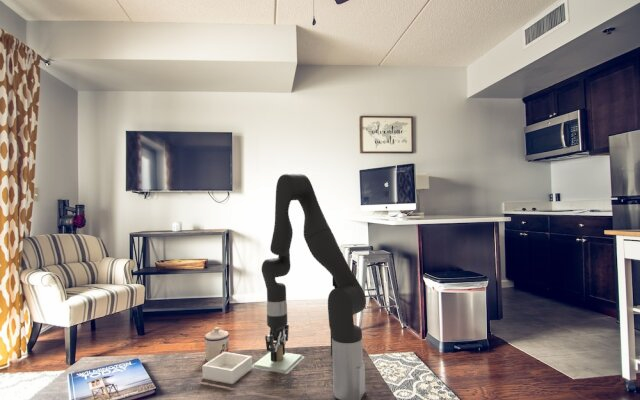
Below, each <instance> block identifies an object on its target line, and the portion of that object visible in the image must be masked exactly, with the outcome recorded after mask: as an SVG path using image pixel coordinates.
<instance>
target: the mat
mask: <svg viewBox="0 0 640 400" xmlns="http://www.w3.org/2000/svg"><path fill="white" fill-rule="evenodd" d="M305 357H306V356H304V355H302V357H301V358H300V359H299V360H298V361H297V362H296V363H295V364H294V365H293V366H292V367H291V368H290V369H289V370H287V371H286V372H282V371H276V370H271V369H265V368H259V367H254V364H255V363H252V368H253V369H256V370H260V371H261V370H262V371H267V372H268V371H269V372H272V373H273V372H274V373H281V374H285V375H287V374H289V373H290V372H291V371H292V370H293V369H294V368H295V367H296V366H297V365H298V364H299V363H300V362H301V361H303V359H304V358H305Z"/></svg>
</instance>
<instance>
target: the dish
mask: <svg viewBox="0 0 640 400" xmlns="http://www.w3.org/2000/svg"><path fill="white" fill-rule="evenodd" d="M252 365H253V356H252V355H247V354H242V353H240V354H239V353H233V352H230V351H229V352H223V353H222V354H220V355H218V356H217V357H215V358H214V359H212V360H210V361H209V362H208V361H206V363H204V364H203V365H202V369H201V371H202V379H203V380H208V381H213V382H218V383H221V384H222V383H223V384H227V385H234V384H235V383H236V382H238V381H239V380H240V379H242V378H243V377H244V376H245V375H246V374H247V373H249V372H250V371H252V370H253V369H254V368H252Z"/></svg>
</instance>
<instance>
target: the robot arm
mask: <svg viewBox="0 0 640 400" xmlns="http://www.w3.org/2000/svg"><path fill="white" fill-rule="evenodd" d="M292 201H298V203H299V204H300V206H301V209H302V211H303V215H304V220H303V221H304V222H303V238H304V241H305V243H306V245H307V247H308V250H309V251H310V252H309V253H310V254H311V255H312V257H313V258H314V259H315V260H316V261H317V262H318V263H319V264H320V265H321V266H322V267H323V268H324V269H326V271H328V273H329V274H330V275H331V276H332V278H334V280H335V282H336V284H337V286H338V287H337V288H333V289H332V290H331V291H330V292H329V295H328V297H327V311H328V325H329V329H330V330H331V332H332V352H333V356H332V383H333V384H332V387H333V388H332V389H333V390H332V391H333V396H334V397H335V398H336V400H337V399H338V400H362V398H363V397H364V395H365V394H366V369H365V367H366V366H365V365H366V364H365V363H366V361H365V360H364V359H363V358H364V357H363V331H362V328H361V327H360V326H358V325H356V324H355V323H354V315H356V314H359V313H360V312H362V311H364V309H365V308H366V306H367V297H366V293H365V291H364V289H363V288H362V285H361V283H360V281H358V279H357V278H356V276H355V275H354V272H353V270H352V269H351V267H350V266H349V265H348V262H347V260H346V258H345V255H344V254H343V252H342V250H341V248H340V246H339V244H338V242H337V239H336V237H335V235H334V233H333V232H332V229H331V228H330V226H329V224H328V222H327V219H326V218H325V214H324V213H323V210H322V209H321V207H320V204H319V201H318V198H317V196H316V193H315V190H314V187H313V184H312V182H311V180H310V179H309V178H308V176H307V175H305V174H303V173H284V174H281V175H280V176H279V177H278V178H277V183H276V188H275V202H274V203H275V204H274V205H275V208H274V209H275V210H274V226H273V233H272V237H271V242H270V248H269V249H270V252H271V253H272V254H273V255H276V256H277V257H274V258H268V259H265V260H264V261H263V262H262V264H261V274H262V278H263V281H264V283H265V288H266V326H267V327H269V334H268V335H267V334H266V335H265V336H264V339H265V347H266V351H267V352H271V361H272V362H276V361H277V346H278V345H279V344H281V345H283V355H284V354H285V353H286V343H287V342H288V340H289V329H290V326H289V324H288V303H287V286H286V285H285V284H284V283H283V282H277V281H276V278H280V277H284V276H287V275H288V274H289V273H290V270H291V254H290V253H291V252H290V251H291V250H290V249H291V244H292V239H293V234H294V233H293V227H292V223H291V220H290V215H289V214H290V213H289V210H290V205H291V202H292ZM331 332H330V333H331ZM274 345H275V348H274Z"/></svg>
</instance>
